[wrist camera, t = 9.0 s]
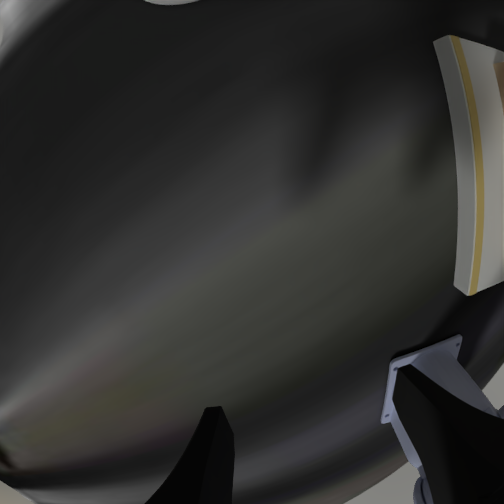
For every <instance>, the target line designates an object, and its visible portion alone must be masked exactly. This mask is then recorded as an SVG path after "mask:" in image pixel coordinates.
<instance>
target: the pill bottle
mask: <svg viewBox="0 0 504 504" xmlns="http://www.w3.org/2000/svg"><path fill="white" fill-rule="evenodd" d="M145 1H147V2H150V3H155V4H161V5H178V4H186V3H191V2H195V1H198V0H145Z"/></svg>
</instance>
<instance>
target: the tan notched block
mask: <svg viewBox="0 0 504 504" xmlns="http://www.w3.org/2000/svg"><path fill="white" fill-rule="evenodd" d="M493 67H494V71H495V75H496V79H497V83H498V87H499V92H500V97H501V103H502V108H503V114H504V62H500V63H495V64H493Z"/></svg>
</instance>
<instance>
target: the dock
mask: <svg viewBox="0 0 504 504" xmlns="http://www.w3.org/2000/svg"><path fill="white" fill-rule="evenodd" d="M433 44H434V48H435V51H436V54H437V58H438V62H439V65H440V69H441V73H442V77H443V81H444V86H445V91H446V95H447V100H448V106H449V111H450V117H451V124H452V131H453V138H454V147H455V157H456V169H457V187H458V236H457V254H456V267H455V277H454V286H455V287H457V288H458V289H459V290H460V291H462V292H463V293H464V294H465V295H467V296H468V295H469V296H471V295H473V294H476V292H479V291H481V290H483V289H486V288H488V287H491V286H493V285H495V284H498V283H500V282H502V281H504V114H503V108H502V103H501V97H500V92H499V87H498V83H497V79H496V75H495V71H494V67H493V64H495V63H500V62H504V52H502V51H500V50H497V49H494V48H491V47H488V46H485V45H482V44H479V43H476V42H473V41H469V40H466V39H462V38H459V37H457V36H453V35H447V36H444V37H442V38H440V39H437V40H435V41H433Z"/></svg>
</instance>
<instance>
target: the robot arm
mask: <svg viewBox="0 0 504 504" xmlns="http://www.w3.org/2000/svg"><path fill="white" fill-rule="evenodd" d="M461 342H462V336H461V335H460V334H458V335H456V336H453V337H451V338H449V339H446V340H444V341H441V342H439V343H436V344H434V345H431V346H429V347H426V348H423V349H420V350H418V351H415V352H412V353H409V354H406V355H404V356H401V357H398V358H395V359H393V360H392V361H391V362H390V367H389V375H388V382H387V388H386V394H385V400H384V406H383V411H382V416H381V423H383V424H385V423H388V422H391V424H392V426H393V428H394V430H395V432H396V435H397V437H398V439H399V441H400V443H401V446H402V448H403V450H404V452H405V455H406V457H407V459H408V461H409V462H410V463H411V464H412V465H413V466H414V467H416V468H417V469H418V471H419V473H420V476H421V477H419V478H418V479H417V481H416V483H415V487H414V493H413V499H414V504H504V405H503V406H502V407H501V408H500V409H499V410H497V409H495V408H494V407H493V405H492V404H491V403H490V401H489V400H488V399H487V397H486V396H485V395H484V393H483V392H482V391H481V389H480V388H479V387H478V386H477V384H476V383H475V382H474V381H473V379H472V378H471V377H470V376H469V374H468V373H467V372H466V371H465V370H464V368H463V367H462V366H461V365H460V363H459V362H458V361H457V357H458V354H459V350H460V346H461ZM234 458H235V451H234V435H233V432H232V429H231V427H230V425H229V423H228V420H227V418H226V416H225V414H224V411H223V409H222V407H221V406H217V407H207V408H206V409H205V410H204V412H203V415H202V417H201V419H200V422H199V424H198V426H197V428H196V430H195V432H194V434H193V436H192V438H191V440H190V442H189V444H188V446H187V448H186V450H185V451H184V453H183V455H182V456H181V458H180V460H179V461H178V463H177V464H176V466H175V467H174V469H173V470H172V472H171V473H170V475H169V476H168V477H167V479H166V480H165V481H164V483H163V484H162V485H161V486H160V487H159V489H158V490H157V491H156V492H155V493H154V494H153V495H152V497H151V498H150V499H149V500H148V501H147V502H146V503H145V504H232V487H233V473H234Z"/></svg>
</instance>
